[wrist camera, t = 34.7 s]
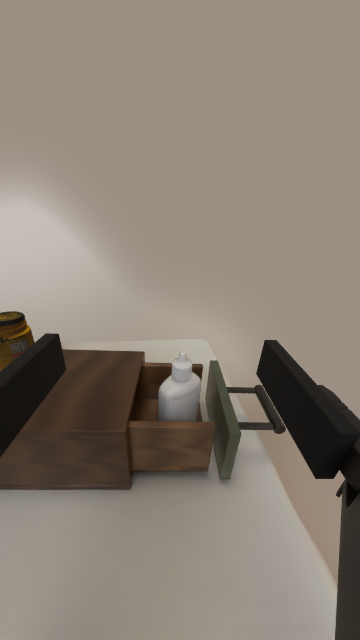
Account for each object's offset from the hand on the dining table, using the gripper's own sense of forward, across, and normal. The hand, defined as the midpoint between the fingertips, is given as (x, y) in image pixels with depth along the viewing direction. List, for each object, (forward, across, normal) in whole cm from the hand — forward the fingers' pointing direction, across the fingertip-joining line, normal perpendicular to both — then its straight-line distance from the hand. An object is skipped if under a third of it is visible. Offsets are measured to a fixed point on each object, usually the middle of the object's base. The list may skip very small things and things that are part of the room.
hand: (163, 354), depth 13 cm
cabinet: (+9, -11, -20) cm, 24 cm away
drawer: (+9, +4, -19) cm, 21 cm away
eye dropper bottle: (+9, +2, -18) cm, 20 cm away
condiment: (+21, -28, -20) cm, 40 cm away
